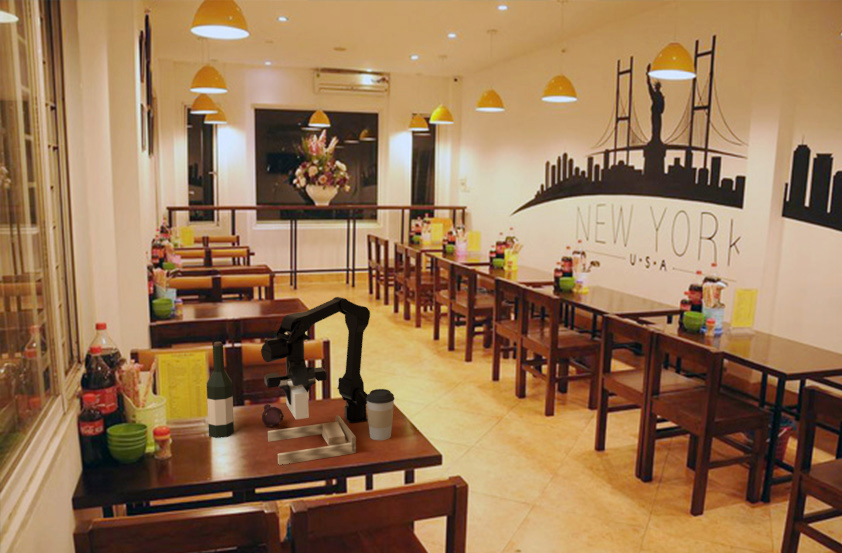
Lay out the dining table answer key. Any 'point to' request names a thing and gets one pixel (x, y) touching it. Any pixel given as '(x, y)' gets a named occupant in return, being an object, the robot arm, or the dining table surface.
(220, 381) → the wine bottle
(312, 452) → the frame
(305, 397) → the white rectangular block
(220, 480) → the dining table surface
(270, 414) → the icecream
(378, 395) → the coffee cup
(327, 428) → the offcut upper
